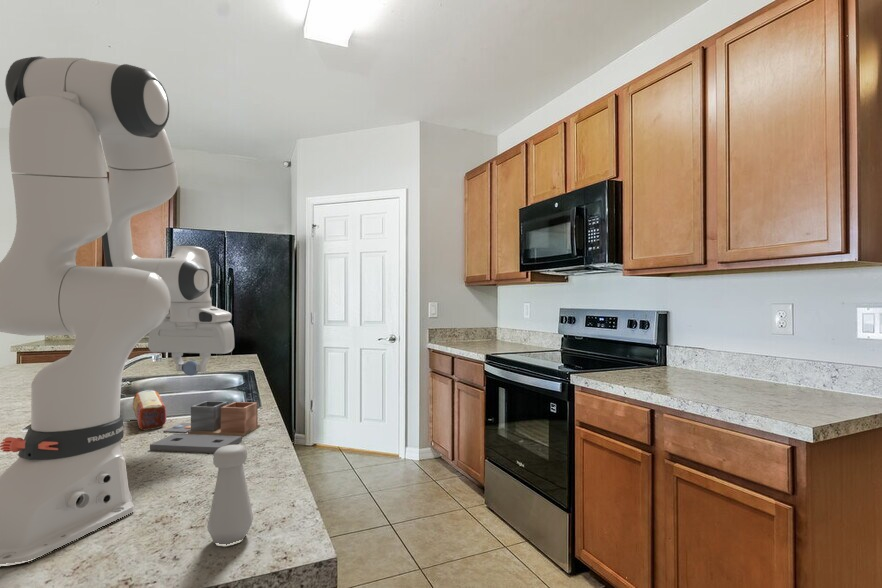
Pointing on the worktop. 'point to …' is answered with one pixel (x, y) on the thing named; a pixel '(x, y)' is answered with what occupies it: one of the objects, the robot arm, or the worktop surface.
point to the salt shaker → (230, 497)
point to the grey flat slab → (195, 442)
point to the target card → (180, 428)
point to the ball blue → (190, 368)
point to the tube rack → (224, 418)
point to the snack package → (149, 410)
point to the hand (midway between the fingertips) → (191, 371)
